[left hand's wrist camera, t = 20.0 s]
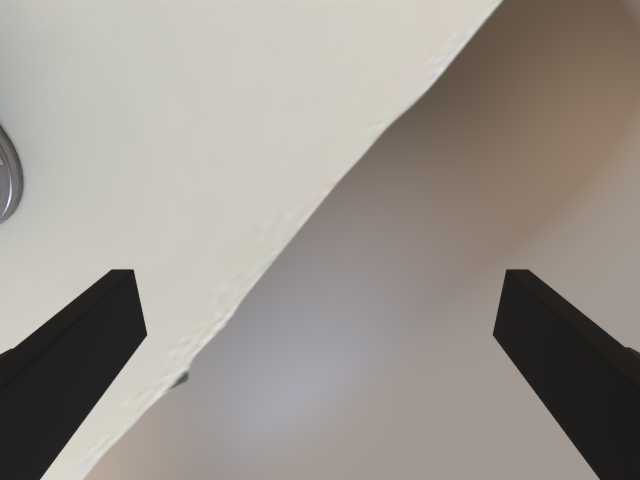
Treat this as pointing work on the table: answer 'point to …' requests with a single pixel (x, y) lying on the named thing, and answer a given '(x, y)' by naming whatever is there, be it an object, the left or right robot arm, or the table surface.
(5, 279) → the table surface
